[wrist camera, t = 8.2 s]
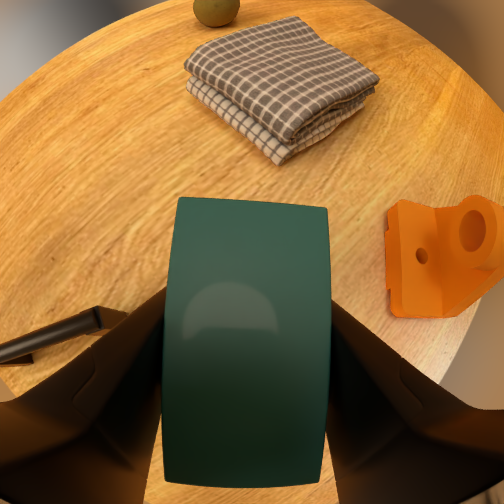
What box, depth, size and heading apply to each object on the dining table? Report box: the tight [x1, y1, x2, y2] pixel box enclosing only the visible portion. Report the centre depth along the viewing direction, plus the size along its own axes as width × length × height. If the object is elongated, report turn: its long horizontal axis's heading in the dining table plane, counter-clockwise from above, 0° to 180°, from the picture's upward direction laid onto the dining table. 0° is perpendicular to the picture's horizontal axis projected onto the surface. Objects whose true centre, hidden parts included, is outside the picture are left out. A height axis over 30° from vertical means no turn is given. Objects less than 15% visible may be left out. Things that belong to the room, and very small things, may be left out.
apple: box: [193, 0, 240, 27], centre depth 30 cm, size 8×8×7 cm
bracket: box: [385, 195, 504, 318], centre depth 18 cm, size 11×7×12 cm, turn 174°
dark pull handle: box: [0, 306, 127, 367], centre depth 16 cm, size 2×14×6 cm, turn 113°
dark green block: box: [161, 197, 331, 488], centre depth 10 cm, size 8×4×8 cm, turn 178°
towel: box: [184, 16, 380, 166], centre depth 25 cm, size 15×18×8 cm
